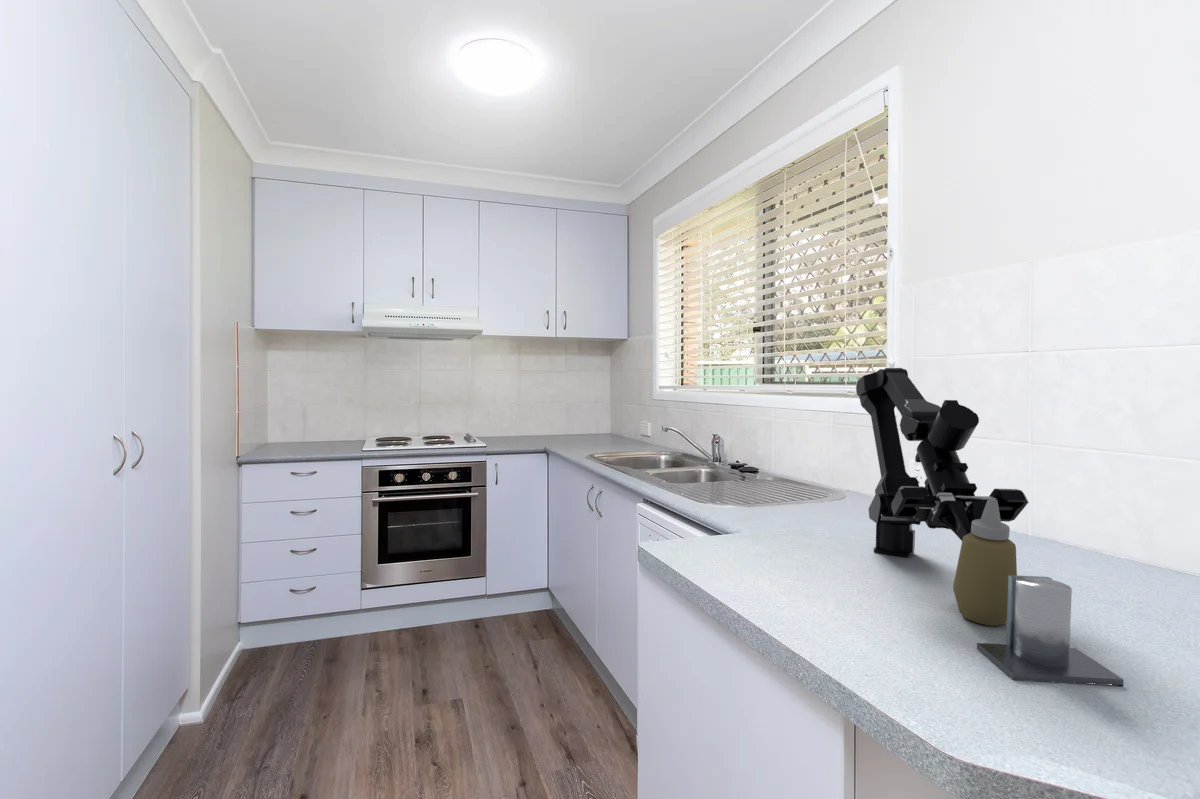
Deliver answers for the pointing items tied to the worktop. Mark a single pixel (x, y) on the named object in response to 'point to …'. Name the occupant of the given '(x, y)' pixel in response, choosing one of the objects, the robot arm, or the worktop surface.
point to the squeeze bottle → (985, 569)
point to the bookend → (1043, 636)
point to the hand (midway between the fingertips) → (975, 550)
